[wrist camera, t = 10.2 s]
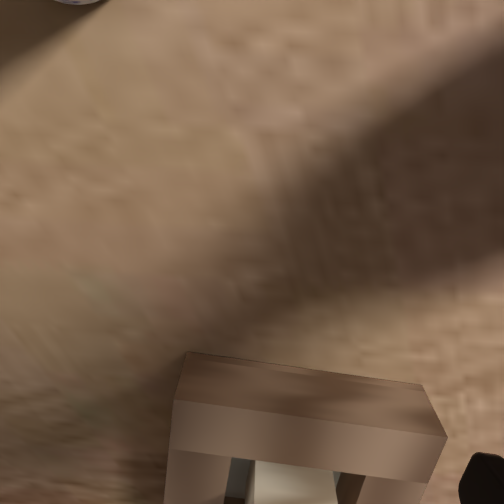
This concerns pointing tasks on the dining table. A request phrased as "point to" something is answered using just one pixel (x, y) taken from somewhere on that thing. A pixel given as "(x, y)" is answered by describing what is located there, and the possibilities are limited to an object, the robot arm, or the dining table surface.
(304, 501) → the peg
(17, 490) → the dining table surface
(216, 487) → the socket block
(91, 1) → the energy drink
